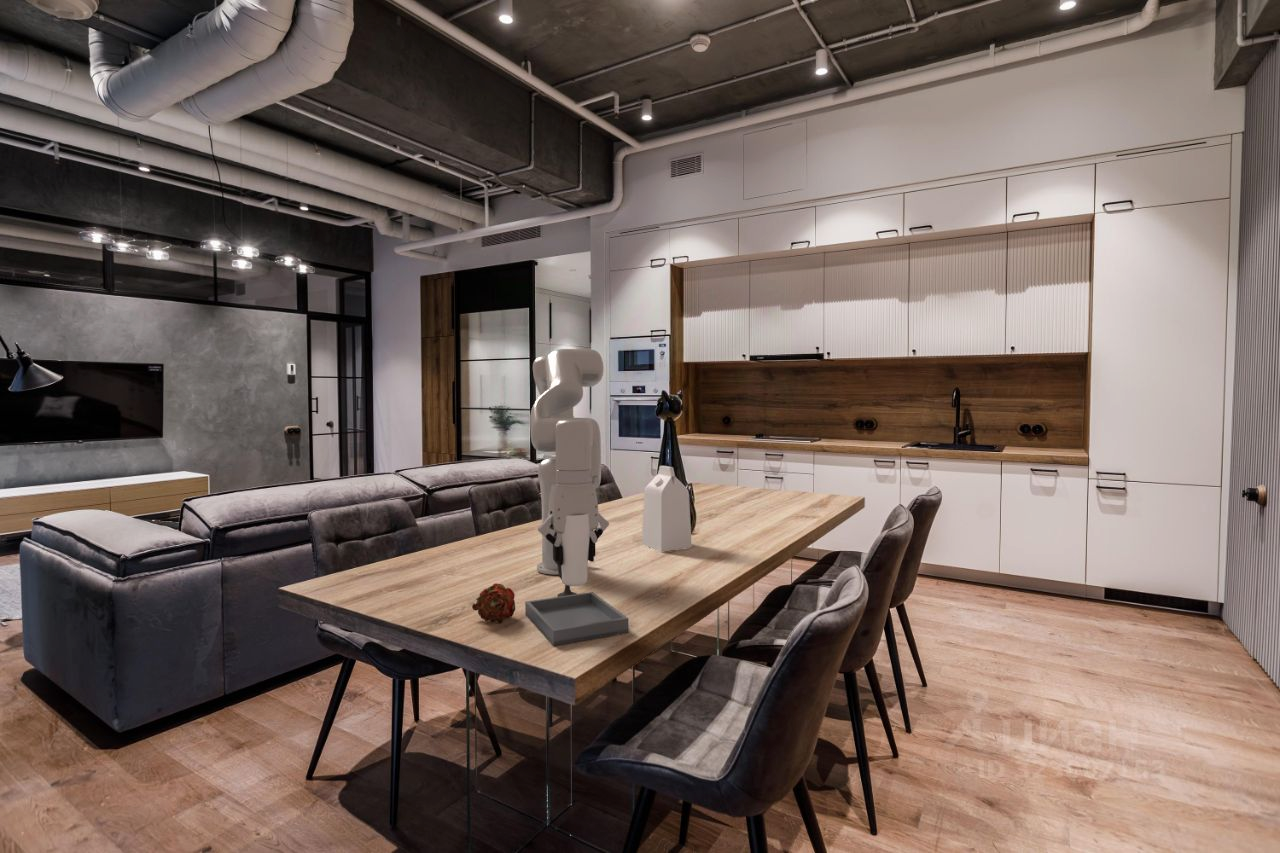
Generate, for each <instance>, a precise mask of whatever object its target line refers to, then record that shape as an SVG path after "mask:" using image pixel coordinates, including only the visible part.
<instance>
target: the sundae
mask: <svg viewBox="0 0 1280 853" xmlns="http://www.w3.org/2000/svg"><path fill="white" fill-rule="evenodd" d="M557 566H558V573H559V575H558V576H559V578H560V580H562V569H561V565H560V566H559V565H558V564H557ZM575 594H578V593H577V592H573V591H571V586H568V585H565V584H564V590H563V591H562V592H560V593H557V596H556V597H561V596H568V595H575Z"/></svg>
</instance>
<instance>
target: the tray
mask: <svg viewBox="0 0 1280 853" xmlns="http://www.w3.org/2000/svg"><path fill="white" fill-rule="evenodd" d="M524 605H525V606H524V607H525V613H524V614H525V616H526V617H527V618H528V619H529V621H530V622H531V623H532V624H533V625H534V626H535V628H537V630H538V631H539V632H540V633H541V634H542V635H543V636H544V637H545V638H546V640H547V641H548V642H549V643H550V644H551V645H552V646H553V647H557V646H562V645H567V644H574V643H578V642H579V643H580V642H585V641H591V640H595V639H600V638H607V636H608V637H613V636H617V634H619V635H624V634H628V632H629V629H630V628H629V624H630V623H629V618H628V617H627V616H626V615H625V614H623V613H622V612H620V611H619V610H618V609H616V607H614V606H612V605H611V604H610V603H608V602H607V601H606V600H604V598H601V597H600V596H599V595H597V594H596V593H595V592H594V591H588V592H583V593H582V592H581V593H577V594H575V595H568V596H561V597H558V596H555V597H554V596H553V597H547V598H541V599H535V600H527V601H525V602H524ZM623 633H624V634H623ZM612 635H613V636H612Z"/></svg>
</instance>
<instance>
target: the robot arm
mask: <svg viewBox="0 0 1280 853" xmlns="http://www.w3.org/2000/svg"><path fill="white" fill-rule="evenodd" d="M532 372H533V374H532V375H533V379H534V383H535V386H536V388H537V390H538V393H539V397H537V399H536V400H535V402H534V403H533V405H532V408H531V410H530V417H529V418H530V419H529V425H530V440H531V444H532V446H533V448H534V449H535V450H536V451H539V452H542V453H551V452H552V453H555V456H552V457H547V458H545V459H543V460H542V461H540V463H539V465H538V468H537V477H538V482H539V487H540V499H541V524H540V525H539V527H538V528H537V531H538V532H539V533H540V534H541V543H542V544H541V545H542V546H541V552H542V553H541V555H542V556H541V557H542V560H541V561H542V562H540V563H538V564H537V566H536V570H537V572H538V573H541V574H545V575H558V576H559V573H558V566H557V564H558V565H559V566H560V565H563V547H562V546H561V541H562V533H564V532H565V525H566V517H567V516H568V515H584V514H588V516H589V527H590V540H589V553H588V562H591V563H592V562H595V557H596V543H598V540H599V538H600V537H601V535H603V533H604V531H606V529H607V528H609V525H610V522H609V521H608V520H607V519H606V518H605V517H604V516H602V515H601V513H599V504H598V503H599V502H598V496H597V491H596V489H598V488H599V487H600V484H601V480H602V455H601V454H602V449H601V448H602V447H601V446H602V445H601V444H602V442H601V441H602V440H601V438H602V437H601V429H600V426H599V423H598V421H596V420H595V418H591V417H590V418H589V417H575V416H574V408H575V407H576V406H578V404H580V402H581V401H582V399H583V397H584V388H588V387H590V388H591V387H594V386H596V385H598V384H599V383H600V381H602V379H603V376H604V361H603V358H602V356H601V354H600V352H598V351H597V350H595V349H591V348H559V349H556V350H553V351H551V352H550V353H549V354H548V355H542V356H539V357H537V358H536V359H535V360H534V361H533V363H532ZM583 387H584V388H583Z"/></svg>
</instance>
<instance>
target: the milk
mask: <svg viewBox="0 0 1280 853" xmlns="http://www.w3.org/2000/svg"><path fill="white" fill-rule="evenodd" d="M674 469H675V468H674V467H673V466H667V465H659V467H658V472H657V474H656V475H655V476H654V478H652V480H650V481H649V483H647V485H646V486H645V488H644V491H643V492H644V493H643V512H642V513H643V515H642V533H641V535H642V537H641V545H642V544H643V545H645V546H644V547H646V546H648V547H650V548H649V549H651V548H653V549H655V550H654V551H656V550H658V551H660V552H659V553H661V552H662V553H664V552H663V551H669V552H671V551H670V550H676V551H678V550H677V549H683V548H690V547H692V548H693V546H692V527H691V509H690V508H691V507H690V494H689V493H690V492H689V490H688V487H686V485H684V484H683V483H682V481H681V480H679V479H678V478H677V476H676V474H675V470H674ZM643 545H642V546H643ZM648 547H647V548H648ZM653 549H652V550H653ZM690 549H691V548H690ZM683 550H684V549H683ZM658 551H657V552H658Z"/></svg>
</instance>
